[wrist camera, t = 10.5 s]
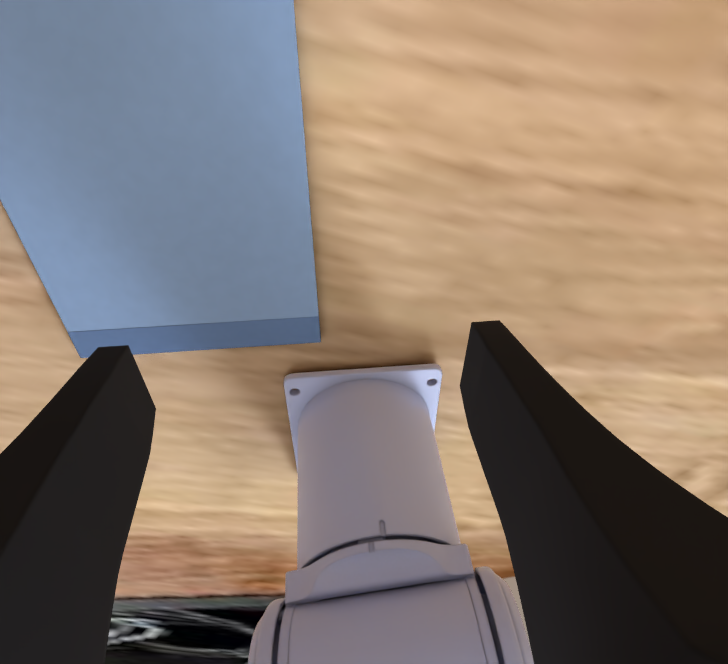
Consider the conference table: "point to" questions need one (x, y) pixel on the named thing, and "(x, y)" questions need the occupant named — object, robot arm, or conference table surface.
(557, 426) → the robot arm
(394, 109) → the conference table surface
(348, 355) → the conference table surface
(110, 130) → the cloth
